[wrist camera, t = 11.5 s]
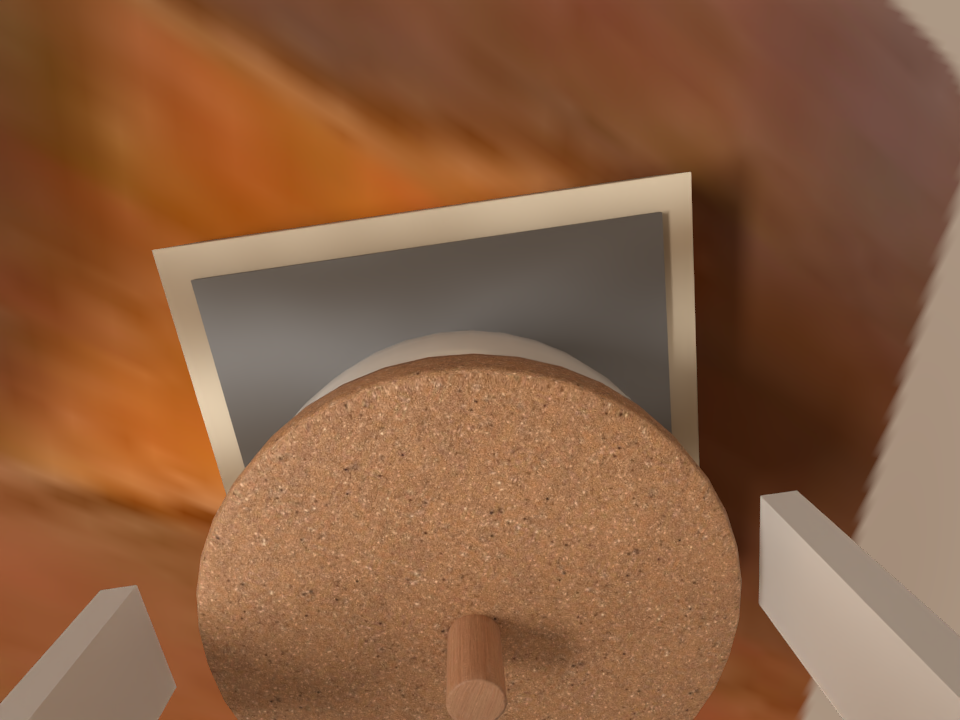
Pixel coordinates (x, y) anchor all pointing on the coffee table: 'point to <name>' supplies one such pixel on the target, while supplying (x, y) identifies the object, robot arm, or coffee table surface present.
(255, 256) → the stand
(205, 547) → the lidded jar
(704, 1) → the coffee table surface
